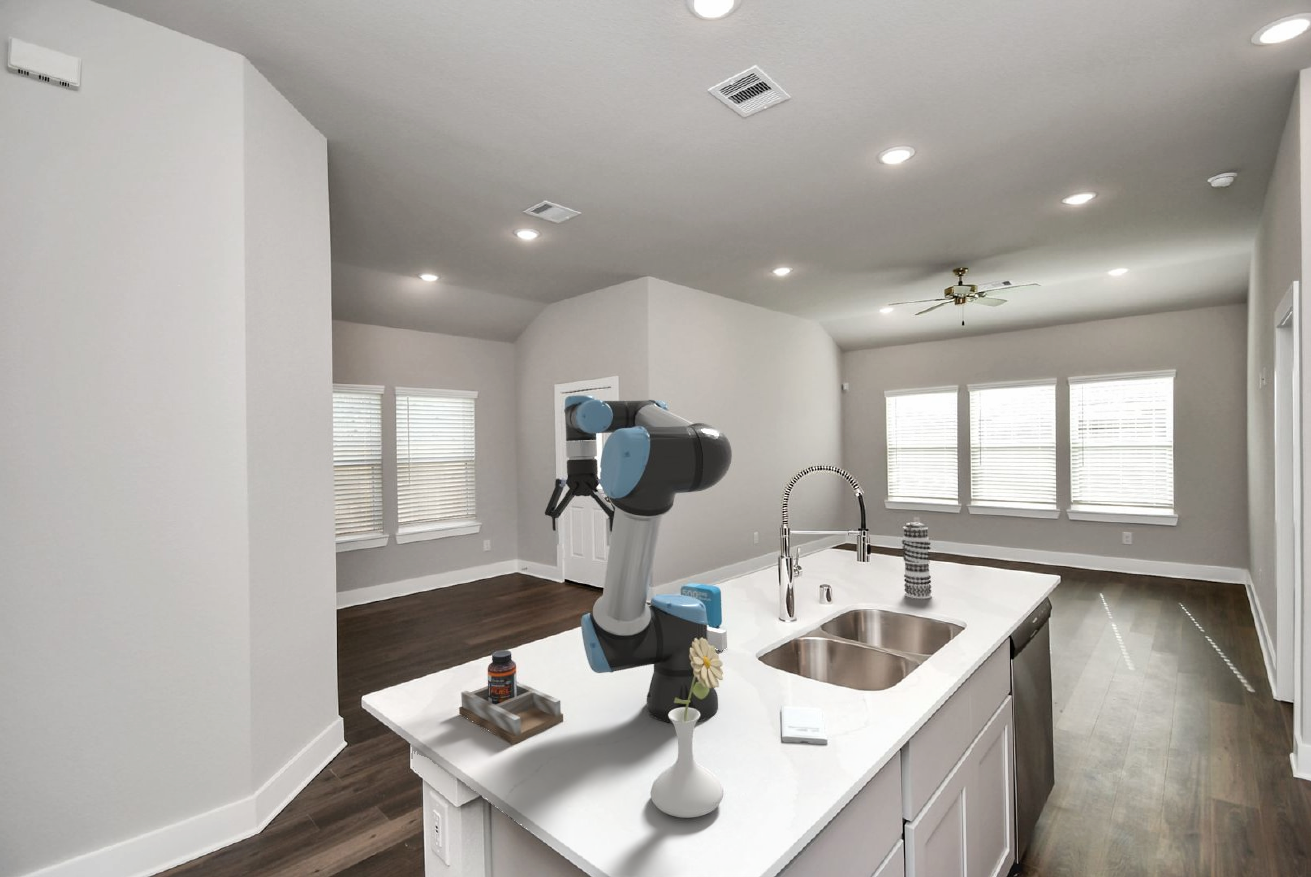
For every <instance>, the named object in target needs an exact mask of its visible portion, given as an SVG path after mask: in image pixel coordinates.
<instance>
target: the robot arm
mask: <svg viewBox="0 0 1311 877" xmlns="http://www.w3.org/2000/svg"><path fill="white" fill-rule="evenodd" d="M563 411H564V417H565V423H564V424H565V447H566V448H565V449H566V451H565V454H566V456H565V457H566V458H568V459H567V461H566V474H567V478H563V477H560V478H555V481H554V483H555V485H554V489H553V491H552V494H551V497H550V498H549V501H548V503H547V507H546V509H545V510H544V515H545V516H548V517H551V522H552V530H553V531H555V545H557V546H559V545H562V544H564V543H565V542H564V541H565V537H564V517H563V516H561V515H562V514H563V512H564V511H565V509H566V508H567V507H568V505H569V503H570V502H571V501H572V500H573V499H574V498H575V497H581V496H582V497H591V498H592V499H594V501H595V502H596V503H597V505H599V507H600V508H601V509H602V511H603V512H604V513H605V514H606V515H607V518H605V523H606V524H605V525H606V526H605V530H606V531H605V532H606V546H607V547H609V549H608V555H607V561H606V562H607V563H606V570H605V578H604V583H603V584H604V585H603V591H602V592H603V593H602V595H601V596H599V598H597V600H596V601H595V603H594V604H593V608H592V613H590V612H588V613H586V614H583V615H582V617H581V619H580V625H581V635H582V642H583V646H584V651H585V656H586V660H587V662H588V665H589V668H590V669H591V671H593V672H594V673H596V674H604V673H614V672H617V671H623V670H624V671H625V670H628V669H629V670H630V669H635V668H639V667H644V666H650V665H651V666H652V665H653V672H652V676H651V681H650V684H649V688H648V692H647V695H646V710H647V713H648V714H649V715H650V716H652V717H653V718H654V719H657V720H659V721H662V722H666V723H672V724H673V722H672V721H671V720H670V719H669V717H668V714H669V712H670V711H671V710H673V709H676V708H681V707H686V704H682V703H674V700H675V697H676V698H678V699H681V700H688V697H689V693H690V689H691V685H692V681H693V678H694V673H693V671H694V669H693V667H692V666H691V660H690V657H689V655H690V648H692V642H694V639H695V638H697V639H698V641H699V640H700V639H701V638H703V639H706V640H707V642H708V635H707V624H708V621H707V615H706V608H705V605H704V604H703V603H702V602H701V601H700V600H698V599H696V598H693V597H689V596H684V595H681V594H674V593H673V594H672V593H661V594H656V595H653V596H652V597H651V600H650V605H649V604H648V603H647V599H648V593H649V588H650V583H651V578H652V572H653V568H654V563H655V562H654V561H655V556H656V551H657V546H658V540H659V535H660V530H661V525H662V519H663V515H666V514H667V513H669V512H670V511H671V510H672V508H673V505H674V502H675V498H676V497H675V496H676V495H677V494H685V493H694V492H695V493H696V492H702V491H705V490H707V489H710V488H712V487H713V486H715V485H716V484H717V485H718V483H720V481H722V479H723V478H725V476H726V474H727V473H728V472H729V468H730V467H731V463H732V459H733V458H732V457H733V453H732V452H733V451H732V446H731V443H730V441H729V439H728V438H727V436H726V435H725V434H724V432H722V431H721V430H720V429H719V428H716V427H715V426H712V425H710V424H709V423H705V422H694V423H693V422H692V421H689V420H688V419H685V418H683V417H681V416H679V415H677V414H675V413H672V412H670V411H669V407H668V406H667V404H666V403H665V402H664V401H662V400H655V399H648V400H600V399H596V398H595V397H594V396H593V395H588V394H583V395H582V394H581V395H579V394H577V395H569V396H567V397H566V398H565V399H564V410H563ZM597 434H609V435H608V437H607V439H606V441H605V443H604V445H603V448H602V452H601V455H600V456H601V457H600V464H599V467H600V472H599V470H598V459H597V458H595V457H597V455H598V449H597V448H598V447H597V446H598V445H597ZM598 473H599V476H598ZM599 485H600V486H601V488H602V491H603V493H604V494H605V495H606V497H607V500H608V501H607V500H606V499H605V497H604V496H603V495H602V493H601V491H600V490H599V489H598V486H599ZM566 486H567V487H568V490H567V491H566V493H565V495H564V496H563V498H562V499H561V501H560V502H559V500H560V498H561V496H562V493H563V490H564V488H565V487H566ZM558 503H559V504H558ZM697 682H699V681H698V679H697V677H696V679H695V682H694V685H695V684H696V683H697ZM693 687H694V686H693ZM692 691H693V690H692ZM718 696H719V695H718V693H717V690H716V688H713V687H711V688H709V693H708V695H707V696H706V697H705V698H703V699H699V698H698V697H696V696H695V695H694V694H693V692H692V694H691V698H690V701H691V702H690V703H689V705H688V708H693V709H696V710H697V711H699V712H700V717H699V719H698V720H697V722H701V721H703V720H707V719H709V718H711V717H713V715H715V714H716V713H717V712H718V710H719V697H718ZM697 722H696V723H697Z"/></svg>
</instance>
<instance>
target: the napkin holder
mask: <svg viewBox="0 0 1311 877" xmlns="http://www.w3.org/2000/svg"><path fill="white" fill-rule="evenodd" d="M727 634H728V633H727V630H724V629H721V628H720V629H719V628H717V627H716V628H711V627H709V625H707V635H708V645H710V646H714V647H715V648H716V649H718V650H721V651H720V652H723V651H722V650H724V649H726V648H727V649H728V637H727V636H728V635H727ZM727 649H726V650H727ZM718 650H717V651H718ZM724 651H725V650H724Z"/></svg>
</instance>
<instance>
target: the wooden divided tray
mask: <svg viewBox="0 0 1311 877" xmlns="http://www.w3.org/2000/svg"><path fill="white" fill-rule="evenodd" d="M460 694H461V706H459V708H458V711H459V714H461V715H462V716H461V715H460V716H461V717H463V716H465V717H466V718H468V719H469V720H468V719H467V720H468V721H470V722H472V721H473V722H472V723H474V724H475V723H476V725H477V726H479V725H480V726H479V727H481V728H482V727H483V728H482V729H484V728H485V730H486V729H487V730H486V731H488V730H489V731H490V733H491V732H492V733H491V734H494V735H495V736H496V737H499V738H500V739H502V740H504V741H505V742H507V743H510V744H511V745H516V744H518V743H521V742H523V741H524V740H527V739H529V738H531V737H533V736H535V735H538V734H540V733H541V732H544V731H546V730H547V729H550V728H552V727H554V726H556V725H558V724H561V723H563V722H564V714H563V713H562V710H561V709H562V708H561V700H560V699H558V698H556V697H554V696H552V695H549V694H547V693H544V692H543V691H540V690H538V689H535V688H533V687H531V686H528V685H526V684H524V683H521V682H519V681H517V696H516V697H514V698H511V699H509V700H506V701H504V702H501V703H499V704H496V705H494V704H492V703H490V702H488V685H487V686H484V687H481V688H478V689H475V690H473V691H468V690H464V691H461V692H460ZM465 717H464V718H465ZM466 718H465V719H466ZM489 731H488V732H489Z"/></svg>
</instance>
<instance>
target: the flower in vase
mask: <svg viewBox="0 0 1311 877" xmlns="http://www.w3.org/2000/svg"><path fill="white" fill-rule="evenodd" d="M689 657H690V660H691V666H692V667H693V669H694V671H693V673H694V678H693V681H692V685H691V689H690V693H689V697H688V700H681V699H678V698H676V697H675V700H674V703H682V704H686V707H681V708H676V709H673V710H671V711H670V712H669V714H668V717H669V719H670V720H671V721H672V722H673V723H672V724H673V727H674V729H675V733H676V737H677V747H678V748H677V750H678V751H677V752H678V753H677V759H676V761H675V763H673V764H672V765H671V766H669V767H668V768H666V769H665V770H664V771H663V772H661V773H660V774H659V775H658V776H657V777H656V779H655V780H654V781H653V783H652V786H651V788H650V799H651V800H652V802H653V804H654V805H655V806H656V808H658V810H660V812H663V813H664V814H667V815H670V816H673V817H677V818H684V819H685V818H688V819H689V818H690V819H691V818H698V817H702V816H705V815H707V814H709V813H711V812H713V811H714V810H715V809H717V807H719V805H720V804H721V802H722V800H723V799H724V794H725V792H724V788H723V786H722V783H721V781H720V780H719V778H718V777H716V776H715V775H714V773H712V772H711V771H710V770H708V769H707V768H706V767H703V766H702V765H701V764H699V763H697V761H696V760H695V758H694V751H693V738H694V731H695V726H696V723H697V720H698V719H699V717H700V712H699V711H697V710H696V709H693V708H688V705H689V703H690V702H691V701H690V698H691V694H692V692H693V694H694V695H695V696H696V697H698V698H699V699H703V698H705V697H706V696H707V695H708V693H709V688H711V687H713V688H714V689H716V688H719V687H720V682H719V681H723V680H724V677H723V674H724V671H723V670H722V668H721V667H723V661H722V660H721V659H719V658H720V655H719V654H718V653H717V652H716V650H715V647H714V646H710V645H708V642H707V640H706V639H703V638H701V639H700V640H699V641H698V639H697V638H695V639H694V642H692V648H690V655H689ZM696 677H697V679H698V681H699V682H697V683H696V684H695V685H694V682H695V679H696ZM693 686H694V687H693ZM692 690H693V691H692Z"/></svg>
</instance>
